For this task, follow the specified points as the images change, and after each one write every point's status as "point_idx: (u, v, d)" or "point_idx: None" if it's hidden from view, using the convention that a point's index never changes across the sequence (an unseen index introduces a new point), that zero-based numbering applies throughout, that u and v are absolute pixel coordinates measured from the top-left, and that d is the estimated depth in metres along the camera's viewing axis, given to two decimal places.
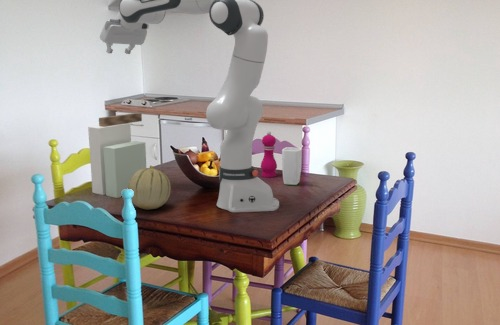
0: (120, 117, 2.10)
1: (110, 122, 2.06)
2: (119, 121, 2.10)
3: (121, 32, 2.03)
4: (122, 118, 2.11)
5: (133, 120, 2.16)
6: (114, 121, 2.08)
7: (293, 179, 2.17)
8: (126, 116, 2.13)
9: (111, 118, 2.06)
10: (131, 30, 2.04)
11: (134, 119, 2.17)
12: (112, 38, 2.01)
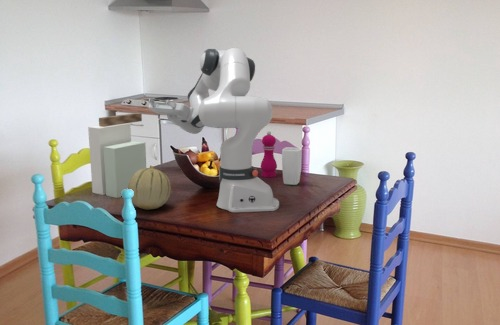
0: (120, 117, 2.10)
1: (110, 122, 2.06)
2: (119, 121, 2.10)
3: None
4: (122, 118, 2.11)
5: (133, 120, 2.16)
6: (114, 121, 2.08)
7: (293, 179, 2.17)
8: (126, 116, 2.13)
9: (111, 118, 2.06)
10: None
11: (134, 119, 2.17)
12: None
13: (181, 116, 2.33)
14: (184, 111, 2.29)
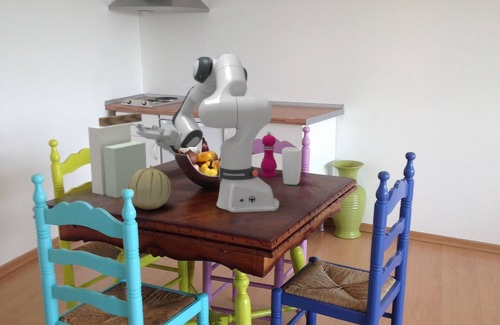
0: (120, 117, 2.10)
1: (110, 122, 2.06)
2: (119, 121, 2.10)
3: None
4: (122, 118, 2.11)
5: (133, 120, 2.16)
6: (114, 121, 2.08)
7: (293, 179, 2.17)
8: (126, 116, 2.13)
9: (111, 118, 2.06)
10: None
11: (134, 119, 2.17)
12: None
13: (169, 141, 2.29)
14: (172, 136, 2.24)
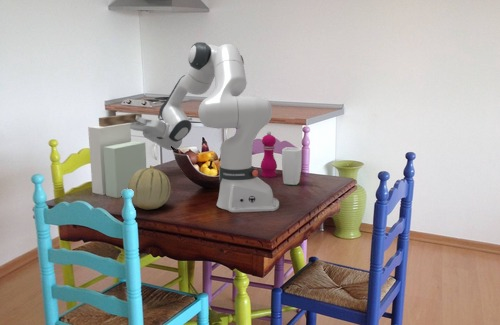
0: (120, 117, 2.10)
1: (110, 122, 2.06)
2: (119, 121, 2.10)
3: None
4: (122, 118, 2.11)
5: (133, 120, 2.16)
6: (114, 121, 2.08)
7: (293, 179, 2.17)
8: (126, 116, 2.13)
9: (111, 118, 2.06)
10: None
11: None
12: None
13: (157, 133, 2.22)
14: (159, 128, 2.17)
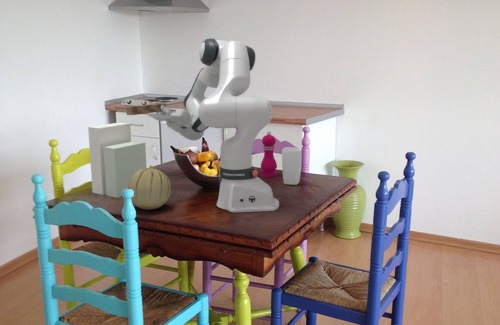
0: (146, 106, 2.15)
1: (137, 111, 2.11)
2: (145, 110, 2.15)
3: None
4: (148, 107, 2.16)
5: (158, 110, 2.21)
6: (140, 110, 2.12)
7: (293, 179, 2.17)
8: (152, 105, 2.17)
9: (138, 107, 2.11)
10: None
11: (159, 109, 2.21)
12: None
13: (181, 122, 2.26)
14: (184, 117, 2.22)
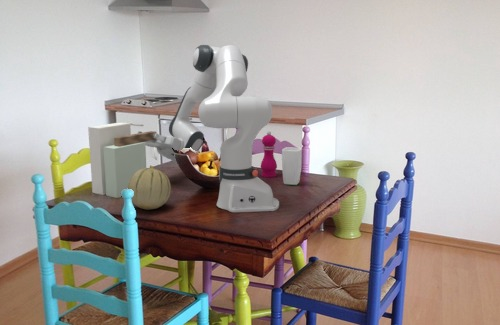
0: (135, 136, 2.07)
1: (126, 142, 2.04)
2: (134, 140, 2.07)
3: None
4: (137, 137, 2.08)
5: (148, 139, 2.13)
6: (129, 141, 2.05)
7: (293, 179, 2.17)
8: (141, 135, 2.10)
9: (126, 138, 2.04)
10: None
11: (149, 138, 2.14)
12: None
13: (171, 150, 2.19)
14: (174, 145, 2.14)
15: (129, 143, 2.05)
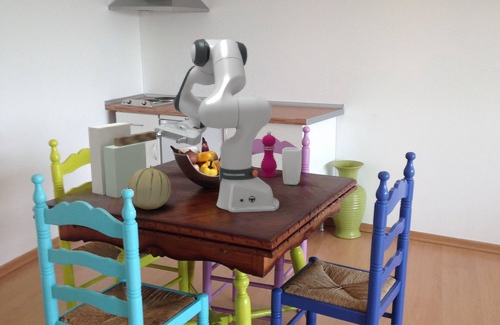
0: (135, 136, 2.07)
1: (126, 142, 2.04)
2: (134, 140, 2.07)
3: (173, 128, 2.31)
4: (137, 137, 2.08)
5: (148, 139, 2.13)
6: (129, 141, 2.05)
7: (293, 179, 2.17)
8: (141, 135, 2.10)
9: (126, 138, 2.04)
10: (181, 126, 2.31)
11: (149, 138, 2.14)
12: (162, 127, 2.30)
13: None
14: (196, 143, 2.26)
15: (129, 143, 2.05)
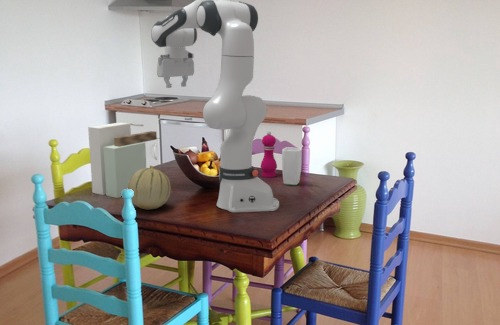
0: (135, 136, 2.07)
1: (126, 142, 2.04)
2: (134, 140, 2.07)
3: (173, 65, 2.24)
4: (137, 137, 2.08)
5: (148, 139, 2.13)
6: (129, 141, 2.05)
7: (293, 179, 2.17)
8: (141, 135, 2.10)
9: (126, 138, 2.04)
10: (181, 60, 2.25)
11: (149, 138, 2.14)
12: (168, 71, 2.21)
13: None
14: None
15: (129, 143, 2.05)
